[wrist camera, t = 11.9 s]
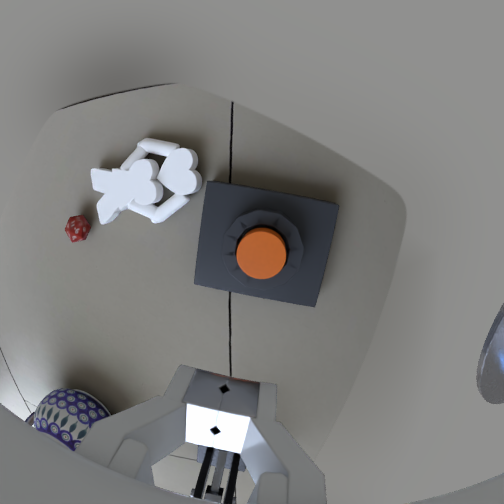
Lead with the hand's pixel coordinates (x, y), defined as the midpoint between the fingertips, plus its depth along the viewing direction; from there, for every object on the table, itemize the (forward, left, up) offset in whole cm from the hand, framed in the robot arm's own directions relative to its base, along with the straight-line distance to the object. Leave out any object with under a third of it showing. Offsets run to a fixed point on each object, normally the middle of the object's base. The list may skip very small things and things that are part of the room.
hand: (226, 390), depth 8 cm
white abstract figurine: (+13, -4, -21) cm, 25 cm away
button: (0, 0, -17) cm, 17 cm away
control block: (0, 0, -21) cm, 21 cm away
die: (+21, +2, -21) cm, 30 cm away
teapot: (+24, +35, -21) cm, 47 cm away
